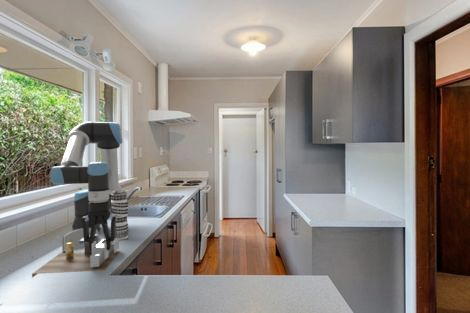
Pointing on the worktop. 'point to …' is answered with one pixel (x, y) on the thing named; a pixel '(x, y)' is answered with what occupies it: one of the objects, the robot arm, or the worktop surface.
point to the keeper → (86, 244)
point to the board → (73, 263)
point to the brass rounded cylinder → (69, 250)
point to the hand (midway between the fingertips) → (100, 257)
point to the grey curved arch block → (75, 238)
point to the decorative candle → (120, 213)
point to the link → (102, 252)
